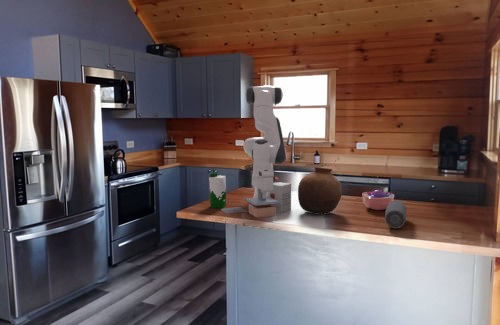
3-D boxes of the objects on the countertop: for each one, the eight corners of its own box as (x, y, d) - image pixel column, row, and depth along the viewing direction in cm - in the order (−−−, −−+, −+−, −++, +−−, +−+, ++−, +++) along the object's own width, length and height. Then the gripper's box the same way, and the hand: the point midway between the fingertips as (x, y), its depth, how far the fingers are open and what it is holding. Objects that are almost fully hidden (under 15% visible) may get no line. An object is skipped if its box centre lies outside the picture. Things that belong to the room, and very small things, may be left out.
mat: (239, 207, 219) (239, 206, 219) (247, 212, 208) (247, 211, 208) (219, 209, 215) (219, 208, 215) (226, 214, 204) (226, 213, 204)
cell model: (395, 206, 216) (396, 186, 215) (392, 214, 198) (393, 193, 197) (364, 204, 223) (364, 185, 222) (359, 211, 205) (359, 191, 204)
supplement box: (268, 210, 211) (268, 183, 209) (278, 207, 218) (278, 181, 216) (281, 213, 205) (281, 185, 203) (291, 210, 211) (291, 183, 210)
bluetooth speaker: (386, 217, 192) (386, 198, 191) (406, 219, 189) (407, 199, 188) (383, 230, 172) (384, 208, 170) (405, 232, 168) (406, 209, 167)
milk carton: (213, 205, 226) (212, 171, 224) (227, 205, 224) (227, 172, 222) (208, 208, 218) (207, 174, 215) (223, 209, 216) (223, 174, 214)
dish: (267, 211, 209) (267, 202, 208) (276, 216, 199) (276, 206, 198) (248, 213, 205) (248, 204, 204) (256, 218, 195) (256, 208, 194)
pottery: (293, 216, 197) (293, 168, 194) (303, 207, 218) (303, 163, 215) (338, 220, 188) (338, 170, 185) (344, 210, 210) (345, 164, 207)
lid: (246, 200, 205) (246, 191, 204) (268, 198, 210) (268, 189, 209) (255, 205, 193) (255, 195, 192) (278, 203, 198) (278, 193, 197)
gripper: (248, 169, 208) (249, 194, 209) (263, 174, 189) (264, 201, 190) (259, 168, 210) (259, 193, 212) (275, 173, 191) (275, 200, 193)
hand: (261, 197), depth 201 cm, fingers closed on lid, 3 cm apart
